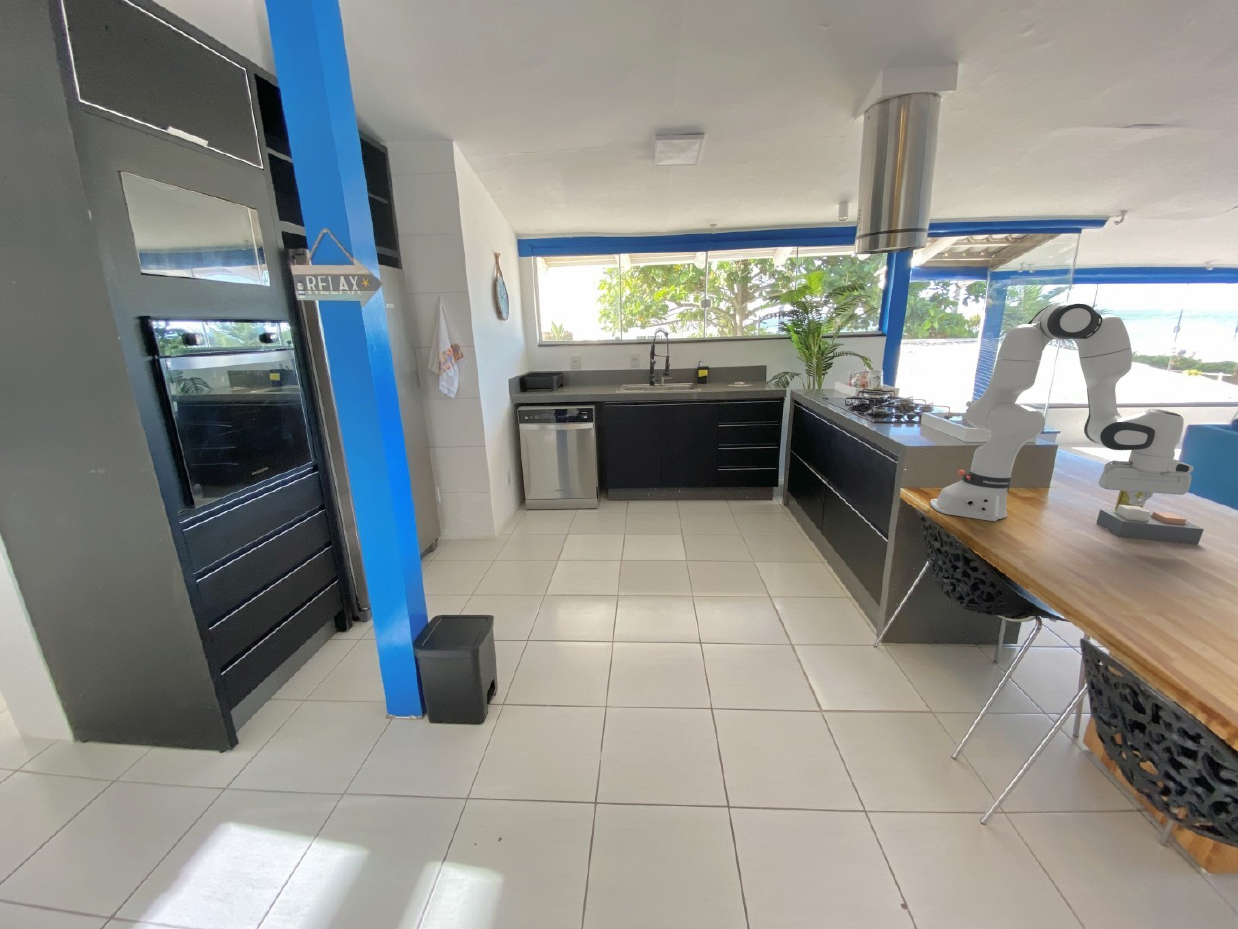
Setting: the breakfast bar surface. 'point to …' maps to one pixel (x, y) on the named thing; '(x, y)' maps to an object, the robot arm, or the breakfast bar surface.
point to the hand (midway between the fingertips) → (1135, 504)
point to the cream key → (1132, 512)
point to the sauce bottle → (1126, 499)
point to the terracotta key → (1168, 518)
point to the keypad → (1149, 528)
